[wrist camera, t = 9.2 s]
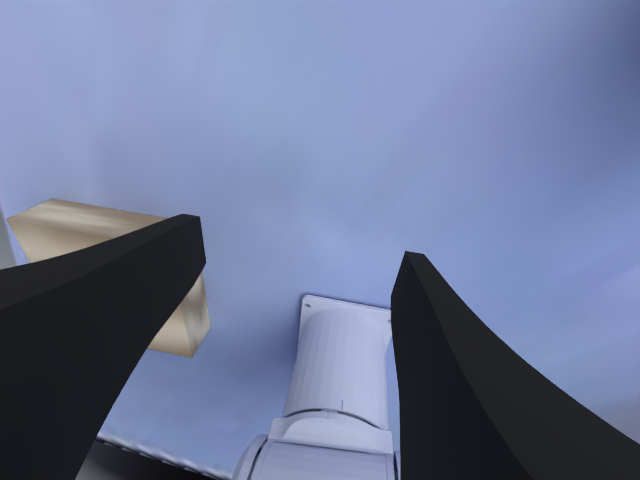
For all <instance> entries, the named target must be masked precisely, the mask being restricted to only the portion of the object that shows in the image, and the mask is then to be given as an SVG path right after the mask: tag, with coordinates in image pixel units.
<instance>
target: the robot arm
mask: <svg viewBox="0 0 640 480" xmlns="http://www.w3.org/2000/svg"><path fill="white" fill-rule="evenodd" d="M205 264H206V257H205V250H204V243H203V236H202V229H201V222H200V217H199V216H193V215H187V214H181V215H177V216H174V217H171V218H168V219H165V220H162V221H159V222H157V223H154V224H151V225H149V226H146V227H143V228H141V229H138V230H135V231H132V232H130V233H127V234H124V235H122V236H119V237H116V238H113V239H110V240H107V241H104V242H101V243H98V244H95V245H93V246H90V247H87V248H84V249H80V250H77V251H74V252H70V253H67V254H64V255H60V256H56V257H52V258H49V259H45V260H41V261H37V262H33V263H29V264H24V265H20V266H15V267H11V268H6V269H2V270H0V480H75V478H76V476H77V474H78V472H79V470H80V468H81V466H82V464H83V462H84V460H85V458H86V456H87V454H88V452H89V450H90V448H91V446H92V444H93V442H94V440H95V438H96V436H97V434H98V432H99V430H100V429H101V427H102V425H103V423H104V421H105V419H106V417H107V415H108V414H109V412H110V410H111V408H112V406H113V404H114V403H115V401H116V399H117V397H118V396H119V394H120V392H121V390H122V389H123V387H124V385H125V383H126V382H127V380H128V378H129V376H130V375H131V373H132V372H133V370H134V368H135V367H136V365H137V363H138V362H139V360H140V359H141V357H142V355H143V354H144V352H145V350H146V349H147V347H148V346H149V344H150V343H151V342H152V340H153V339H154V337H155V336H156V335H157V333H158V332H159V331H160V329H161V328H162V327H163V326H164V324H165V323H166V322H167V320H168V319H169V318H170V316H171V315H172V314H173V312H174V311H175V310H176V309H177V307H178V306H179V305H180V303H181V302H182V301H183V299H184V298H185V297H186V295H187V294H188V293H189V291H190V290H191V289H192V287H193V286H194V284H195V283H196V281H197V279H198V277H199V276H200V274H201V272H202V270H203V268H204V266H205ZM306 304H309V305H306ZM391 336H392V338H393V347H394V355H395V363H396V371H397V379H398V388H399V403H400V451H394V461H393V450H392V432H391V431H389V430H388V407H387V384H386V361H385V353H386V350H387V347H388V344H389V342H390V339H391ZM232 480H640V444H638V443H637V442H635V441H634V440H632V439H630V438H629V437H627V436H626V435H624V434H623V433H621V432H620V431H618V430H617V429H615V428H614V427H612V426H611V425H610V424H608V423H607V422H605V421H604V420H603V419H601V418H600V417H598V416H597V415H596V414H594V413H593V412H591V411H590V410H588V409H587V408H586V407H584V406H583V405H581V404H580V403H579V402H577V401H576V400H575V399H573V398H572V397H571V396H569V395H568V394H566V393H565V392H564V391H562V390H561V389H560V388H558V387H557V386H556V385H555V384H553V383H552V382H551V381H550V380H548V379H547V378H546V377H545V376H543V375H542V374H541V373H540V372H538V371H537V370H536V369H535V368H533V367H532V366H531V365H530V364H528V363H527V362H526V361H525V360H524V359H522V358H521V357H520V356H519V355H518V354H517V353H515V352H514V351H513V350H512V349H511V348H510V347H509V346H508V345H507V344H505V343H504V342H503V341H502V340H501V339H500V338H499V337H498V336H497V335H496V334H494V333H493V332H492V331H491V330H490V329H489V328H488V327H487V326H486V325H485V324H484V323H483V322H482V321H481V320H480V319H479V318H478V317H477V316H476V314H475V313H474V312H473V311H472V310H471V309H470V308H469V307H468V306H467V305H466V304H465V303H464V302H463V301H462V299H461V298H460V297H459V296H458V295H457V294H456V293H455V291H454V290H453V289H452V288H451V287H450V285H449V284H448V283H447V282H446V281H445V279H444V278H443V277H442V276H441V274H440V273H439V272H438V271H437V270H436V268H435V267H434V266H433V265H432V263H431V262H430V261H429V260H428V258H427V257H426V256H425V255H424V254H420V253H414V252H408V251H405V254H404V257H403V260H402V263H401V266H400V269H399V272H398V275H397V279H396V282H395V285H394V288H393V291H392V294H391V310H389V309H383V308H378V307H373V306H367V305H362V304H356V303H351V302H345V301H340V300H335V299H329V298H324V297H318V296H313V295H305V296H303V299H302V307H301V317H300V327H299V338H298V348H297V358H296V362H295V366H294V370H293V374H292V378H291V382H290V386H289V390H288V394H287V398H286V402H285V406H284V410H283V414H282V418H273V419H272V423H271V427H270V430H269V434H268V435H259V436H258V437H257V438H256V439H255V440H254V441H253V442H252V443H251V445H250V446H249V447H248V448H247V449H246V450H245V451H244V453H243V454H242V456H241V458H240V460H239V462H238V464H237V467H236V469H235V472H234V474H233V477H232Z"/></svg>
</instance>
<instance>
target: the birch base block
mask: <svg viewBox="0 0 640 480" xmlns="http://www.w3.org/2000/svg"><path fill="white" fill-rule="evenodd" d="M165 219H168V218H163V217H157V216H151V215H145V214H139V213H133V212H128V211H122V210H116V209H110V208H104V207H98V206H92V205H87V204H81V203H75V202H69V201H63V200H57V199H50V200H48V201H46V202H44V203H41V204H39V205H37V206H35V207H32V208H30V209H28V210H26V211H23V212H21V213H19V214H17V215H14V216H12V217H10V218H8V219H6V220H7V221H8V223H9V225H10V227H11V229H12V231H13V232H14V234H15V236H16V238H17V240H18V241H19V243H20V245H21V247H22V249H23V251H24V252H25V254H26V256H27V258H28V260H29V261H30V263H33V262H37V261H41V260H45V259H49V258H52V257H56V256H60V255H64V254H67V253H70V252H74V251H77V250H80V249H84V248H87V247H90V246H93V245H95V244H98V243H101V242H104V241H107V240H110V239H113V238H116V237H119V236H122V235H124V234H127V233H130V232H132V231H135V230H138V229H141V228H143V227H146V226H149V225H151V224H154V223H157V222H159V221H162V220H165ZM209 329H210V320H209V314H208V307H207V300H206V294H205V287H204V280H203V274H202V272H201V274H200V276H199V277H198V279H197V281H196V283H195V284H194V286H193V287H192V289H191V290H190V291H189V293H188V294H187V295H186V297H185V298H184V299H183V301H182V302H181V303H180V305H179V306H178V307H177V309H176V310H175V311H174V312H173V314H172V315H171V316H170V318H169V319H168V320H167V322H166V323H165V324H164V326H163V327H162V328H161V329H160V331H159V332H158V333H157V335H156V336H155V337H154V339H153V340H152V342H151V343H150V344H149V346H148V347H147V349H152V350H156V351H161V352H166V353H171V354H176V355H181V356H186V357H190V358H192V357H193V356H194V354H195V352H196V351H197V349H198V347H199V346H200V344H201V342H202V340H203V339H204V337H205V335H206V334H207V332H208V330H209Z"/></svg>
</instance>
